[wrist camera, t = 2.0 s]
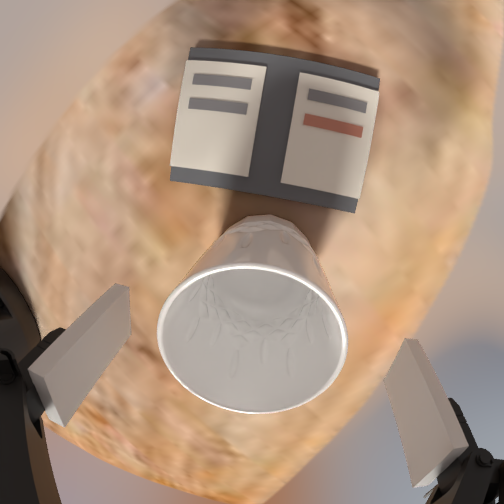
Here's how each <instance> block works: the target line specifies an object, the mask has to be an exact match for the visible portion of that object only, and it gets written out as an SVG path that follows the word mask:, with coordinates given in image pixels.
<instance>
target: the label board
mask: <svg viewBox="0 0 504 504" xmlns="http://www.w3.org/2000/svg"><path fill="white" fill-rule="evenodd" d="M379 82H380V78H376V77H373V76H370V75H366V74H363V73H359V72H356V71H352V70H348V69H345V68H341V67H336V66H332V65H328V64H324V63H319V62H314V61H309V60H304V59H299V58H293V57H287V56H281V55H275V54H268V53H260V52H251V51H242V50H231V49H217V48H193V47H191V48H190V53H189V58H188V60H186V65H185V70H184V75H183V81H182V86H181V92H180V98H179V104H178V110H177V117H176V123H175V130H174V138H173V145H172V153H171V161H170V166H171V175H170V181H177V182H184V183H191V184H198V185H205V186H211V187H218V188H224V189H230V190H236V191H242V192H248V193H254V194H260V195H265V196H271V197H276V198H282V199H287V200H292V201H298V202H303V203H308V204H313V205H318V206H322V207H327V208H332V209H337V210H341V211H346V212H351V213H355V210H356V206H357V202H358V199H360V194H361V190H362V185H363V181H364V176H365V172H366V167H367V162H368V157H369V152H370V146H371V141H372V136H373V130H374V124H375V118H376V112H377V106H378V99H379V92H378V90H379Z"/></svg>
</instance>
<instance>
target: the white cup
mask: <svg viewBox="0 0 504 504" xmlns="http://www.w3.org/2000/svg"><path fill="white" fill-rule="evenodd" d="M157 340H158V346H159V349H160V353H161V355H162V358H163V360H164V362H165V364H166V366H167V367H168V369H169V370H170V372H171V373H172V374H173V376H174V377H175V378H176V379H177V380H178V381H179V382H180V383H181V384H182V385H183V386H184V387H185V388H186V389H187V390H189V391H190V392H191V393H193V394H194V395H196V396H197V397H199V398H200V399H202V400H204V401H206V402H208V403H210V404H213V405H215V406H218V407H220V408H224V409H227V410H231V411H235V412H241V413H251V414H266V413H275V412H281V411H285V410H289V409H292V408H295V407H298V406H301V405H303V404H305V403H307V402H309V401H311V400H312V399H314V398H316V397H317V396H319V395H320V394H321V393H322V392H324V391H325V390H326V389H327V388H328V387H329V386H330V385H331V384H332V383H333V382H334V380H335V379H336V378H337V376H338V375H339V373H340V371H341V369H342V367H343V365H344V362H345V359H346V356H347V351H348V333H347V328H346V324H345V321H344V318H343V316H342V313H341V311H340V309H339V306H338V304H337V301H336V299H335V296H334V294H333V292H332V289H331V287H330V284H329V282H328V279H327V277H326V274H325V272H324V270H323V268H322V266H321V264H320V262H319V260H318V257H317V255H316V254H315V252H314V250H313V249H312V247H311V246H310V243H309V241H308V239H307V237H306V236H305V235H304V234H303V233H302V232H301V231H300V230H299V229H298V228H297V227H296V226H295V225H294V224H293V223H292V222H290V221H287V220H285V219H282V218H279V217H277V216H274V215H271V214H268V215H256V216H247V217H245V218H244V219H242V220H240V221H239V222H237V223H235V224H234V225H232V226H230V227H229V228H228V229H227V230H226V231H225V232H224V234H222V235H221V236H220V237H219V238H218V239H217V240H216V241H215V242H214V243H213V244H212V245H211V246H210V247H209V248H208V249H207V250H206V252H205V253H204V254H203V255H202V256H201V257H200V258H199V260H198V261H197V262H196V263H195V264H194V266H193V267H192V268H191V269H190V271H189V272H188V273H187V274H186V276H185V277H184V278H183V279H182V281H181V282H180V283H179V284H178V285H177V287H176V288H175V289H174V290H173V291H172V293H171V294H170V295H169V297H168V298H167V300H166V301H165V303H164V305H163V307H162V309H161V312H160V315H159V318H158V324H157Z"/></svg>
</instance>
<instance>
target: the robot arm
mask: <svg viewBox="0 0 504 504" xmlns="http://www.w3.org/2000/svg"><path fill="white" fill-rule="evenodd" d="M130 335H131V319H130V298H129V287H127V286H124V285H120V284H116V283H115V284H114V285H113V286H112V287H111V288H110V289H109V290H107V291H106V292H105V293H104V294H103V295H102V296H101V297H100V298H99V299H98V300H97V301H96V302H94V303H93V304H92V305H91V306H90V307H89V308H88V309H87V310H86V311H85V312H84V313H83V314H82V315H81V316H80V317H79V318H78V319H77V320H76V321H74V322H73V323H72V324H71V325H70V326H69V327H68V328H67V329H66V330H65V329H63V328H58V329H56V330H54V331H51V332H50V333H49V334H47V335H46V336H45V337H44V338H43V339H42V341H40V336H39V332H38V329H37V326H36V323H35V321H34V318H33V316H32V314H31V311H30V309H29V307H28V305H27V304H26V302H25V300H24V298H23V297H22V295H21V293H20V292H19V290H18V289H17V287H16V286H15V284H14V283H13V282H12V280H11V279H10V278H9V276H8V275H7V274H6V273H5V272H4V271H3V270H2V269H1V268H0V504H62V503H61V500H60V497H59V493H58V490H57V487H56V483H55V479H54V475H53V471H52V467H51V463H50V458H49V454H48V449H47V444H46V438H45V432H44V426H43V420H42V418H41V415H42V414H43V412H44V411H46V414H47V416H48V418H49V419H50V420H51V421H53V422H55V423H57V424H59V425H61V426H63V427H65V426H66V425H67V423H68V422H69V420H70V419H71V418H72V416H73V415H74V413H75V412H76V410H77V409H78V407H79V406H80V404H81V403H82V402H83V400H84V399H85V397H86V396H87V394H88V393H89V392H90V390H91V389H92V387H93V386H94V385H95V383H96V382H97V380H98V379H99V378H100V376H101V375H102V373H103V372H104V371H105V369H106V368H107V366H108V365H109V364H110V362H111V361H112V360H113V358H114V357H115V355H116V354H117V353H118V351H119V350H120V349H121V347H122V346H123V345H124V343H125V342H126V341H127V339H128V338H129V337H130ZM384 383H385V387H386V390H387V393H388V396H389V400H390V403H391V406H392V409H393V413H394V417H395V420H396V424H397V427H398V430H399V434H400V438H401V442H402V446H403V449H404V453H405V457H406V461H407V465H408V469H409V474H410V478H411V483H412V487H413V488H415V487H421V486H427V485H429V484H430V483H431V482H433V481H434V480H435V479H436V478H437V481H438V484H437V485H436V486H435V487H434V488H433V489H431V490H430V491H429V492H428V493H426V495H425V496H424V498H426V497H427V496H428V495H430V494H431V495H430V497H429V498H428V500H427V502H426V504H495V499H496V498H497V497H498V496H499V502H498V503H496V504H504V460H500V459H494V458H493V456H492V455H491V453H490V452H489V451H487V450H486V449H483V448H478V446H477V444H476V442H475V439H474V437H473V435H472V433H471V430H470V428H469V426H468V424H467V423H466V422H467V421H466V419H465V417H464V416H463V413H462V411H461V409H460V406H459V405H458V404H457V403H456V402H455V401H454V400H453V399H452V398H447V395H446V394H445V391H444V389H443V387H442V385H441V383H440V381H439V379H438V377H437V375H436V373H435V371H434V369H433V367H432V366H431V364H430V362H429V360H428V358H427V356H426V354H425V352H424V351H423V348H422V347H421V345H420V343H419V341H418V340H416V339H407V338H405V339H404V341H403V343H402V345H401V347H400V350H399V352H398V354H397V356H396V358H395V360H394V361H393V363H392V365H391V367H390V369H389V371H388V373H387V375H386V377H385V378H384Z"/></svg>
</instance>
